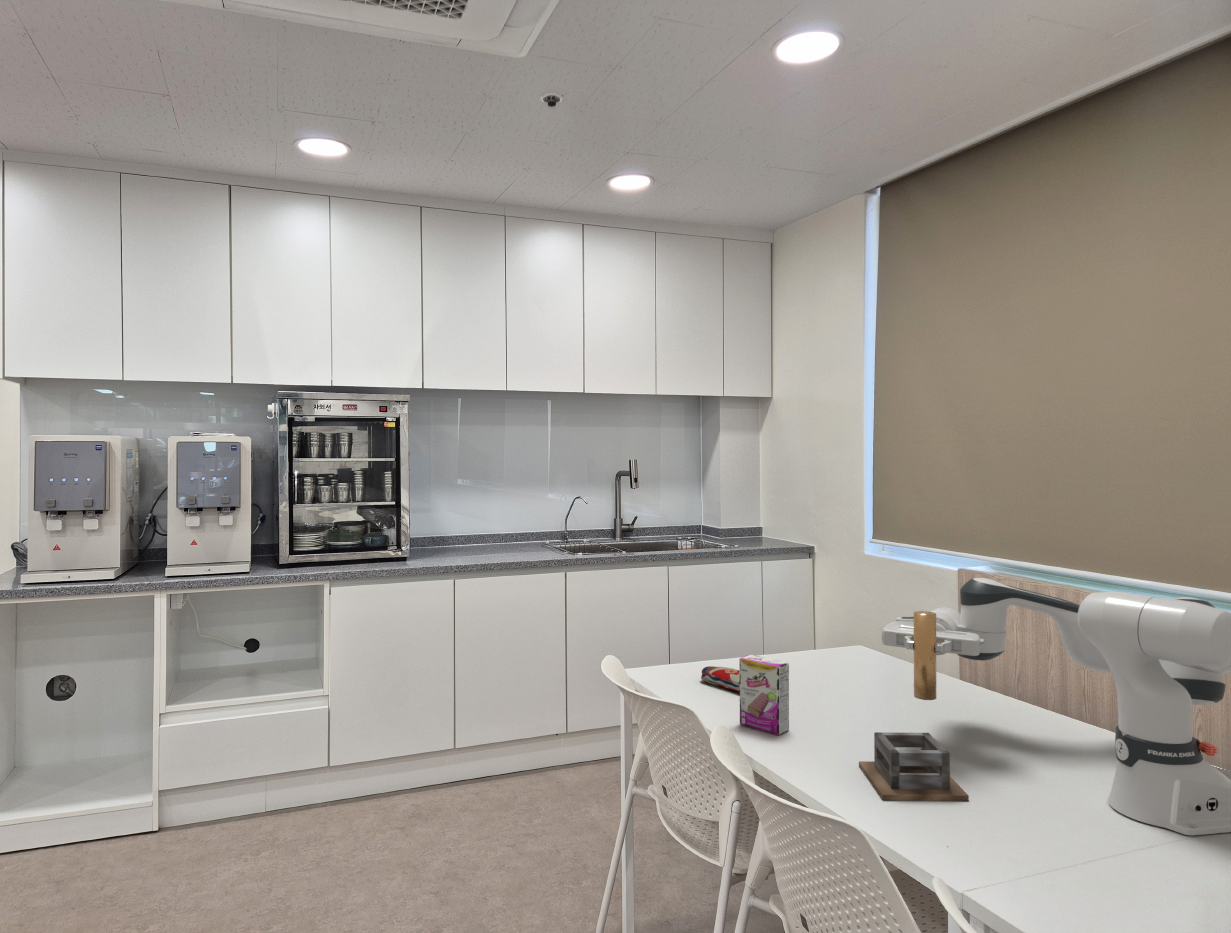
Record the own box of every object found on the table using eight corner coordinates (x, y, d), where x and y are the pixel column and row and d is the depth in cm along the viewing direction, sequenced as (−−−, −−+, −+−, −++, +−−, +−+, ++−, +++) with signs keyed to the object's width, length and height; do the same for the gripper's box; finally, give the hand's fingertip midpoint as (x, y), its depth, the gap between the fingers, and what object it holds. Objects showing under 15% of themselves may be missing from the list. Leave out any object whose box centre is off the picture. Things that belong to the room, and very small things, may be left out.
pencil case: (732, 700, 206) (732, 681, 206) (696, 681, 224) (696, 664, 224) (767, 695, 211) (766, 676, 211) (728, 676, 229) (728, 659, 229)
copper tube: (931, 693, 168) (931, 611, 167) (939, 700, 163) (939, 615, 163) (910, 693, 168) (910, 611, 167) (918, 700, 163) (917, 615, 163)
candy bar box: (738, 725, 186) (738, 657, 186) (750, 720, 190) (749, 653, 190) (779, 736, 179) (778, 666, 178) (790, 730, 182) (789, 661, 182)
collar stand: (936, 766, 160) (936, 728, 160) (968, 800, 144) (968, 758, 144) (858, 766, 161) (858, 728, 161) (882, 800, 145) (882, 757, 145)
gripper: (985, 654, 171) (977, 669, 159) (890, 642, 182) (875, 656, 170) (985, 625, 171) (977, 638, 159) (890, 616, 181) (875, 627, 170)
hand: (924, 647), depth 164 cm, fingers closed on copper tube, 4 cm apart
